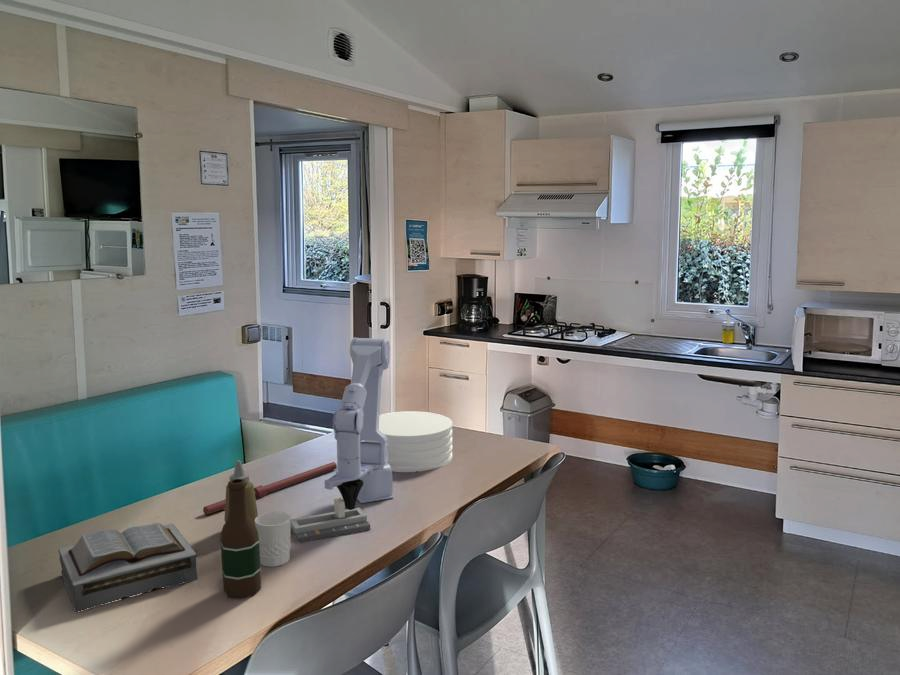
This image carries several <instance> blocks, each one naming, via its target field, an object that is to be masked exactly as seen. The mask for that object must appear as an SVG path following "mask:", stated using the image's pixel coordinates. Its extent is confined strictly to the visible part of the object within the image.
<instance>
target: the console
mask: <svg viewBox="0 0 900 675" xmlns="http://www.w3.org/2000/svg"><path fill="white" fill-rule="evenodd" d="M332 514H335V513H334V511H331V512H326V513H320V514H315V515H308V516H304V517H303V516H302V517H298V518H291V531H292V532H291V534H292V535H293V536H294V538H295V539H296V541H297V543H305V542H311V541H315V540H316V541H317V540H321V538H322V539H327V538H332V537H331V536H333V537H336V535H338V536H342V535H341V534H343V535H347V533H349V534H354V533H359V532H358V531H360V532H362V530H365V531H369V530H368V529H370V530H371V524H370V523H369V522H368V516H367V514H366V513H365V512H364V511H363V510H362V508H360V507H355V509H353V510H349V509H345V514H346V515H347V517H345V518H340V519H334V520H332ZM353 532H354V533H353ZM326 537H327V538H326Z"/></svg>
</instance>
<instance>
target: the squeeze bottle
mask: <svg viewBox="0 0 900 675" xmlns="http://www.w3.org/2000/svg"><path fill="white" fill-rule="evenodd" d="M233 479H244V480H245V482H246V485H247V486H245V491H246V500H247V508H248V514H249V517H250V519H251V520H252V521H253V523H254V524H255V518H256V517H258V516H259V512H258V506H257V500H256V499H257V498H255V492H254V488H255V487H254V483H253V482H252V481H250V474H249V473H247V472H245V470H244V467H243V463H242V461H241V460H236V461H235V465H234V472H233V474H230V475H229V481H231V480H233ZM225 499H226V501H225V509H224V523H226V521H227V519H228V514H229V488H228V484H227V485H226V488H225Z"/></svg>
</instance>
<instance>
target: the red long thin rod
mask: <svg viewBox="0 0 900 675" xmlns="http://www.w3.org/2000/svg"><path fill="white" fill-rule="evenodd" d="M336 469H338V465H337V463H336V462H335V461H332V462H329V463H327V464H323V465H320V466H318V467H314V468H312V469H309V470H306V471H303V472H301V473H298V474H294V475H292V476H289V477H286V478H283V479H280V480H278V481H275V482H272V483H269V484H266V485H259V486H255V487H254V492H255V498H256V499H257V498H258V499H260V498H264V497H265V496H266V495H267V494H271V493H273V492H276V491H278V490H281V489H284V488H286V487H289V486H291V485H296V484H298V483H300V482H303V481H306V480H308V479H311V478H314V477H317V476H320V475H323V474H327V473H328V472H331V471H334V470H336ZM225 501H226V498H224V499H223V500H220V501H217V502H214V503H211V504H209V505H206V506H203V508H202V511H203V514H204V515H205V516H209V515H211V514H213V513H217V512H219V511H223V510H225Z"/></svg>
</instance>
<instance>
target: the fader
mask: <svg viewBox="0 0 900 675" xmlns="http://www.w3.org/2000/svg"><path fill="white" fill-rule="evenodd" d="M333 505H334V506H333V508H334V511H333V512H334V513H335V514H332V520H334V519H340V518H345V517H347V515H346V514H345V510H346V508H345V504H344V501H343V498H342V496H337V497H334V498H333Z"/></svg>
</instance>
